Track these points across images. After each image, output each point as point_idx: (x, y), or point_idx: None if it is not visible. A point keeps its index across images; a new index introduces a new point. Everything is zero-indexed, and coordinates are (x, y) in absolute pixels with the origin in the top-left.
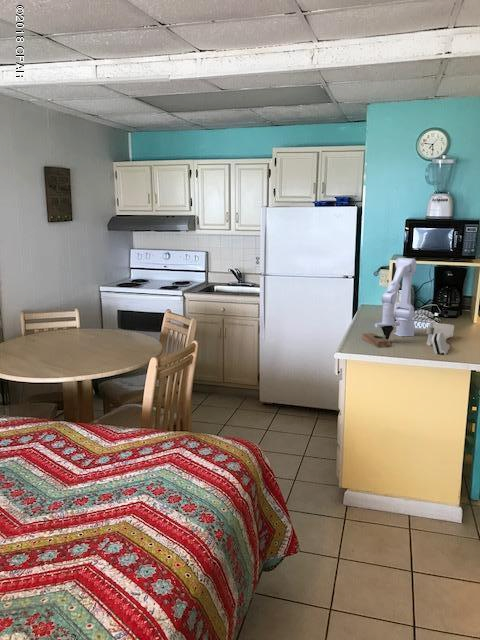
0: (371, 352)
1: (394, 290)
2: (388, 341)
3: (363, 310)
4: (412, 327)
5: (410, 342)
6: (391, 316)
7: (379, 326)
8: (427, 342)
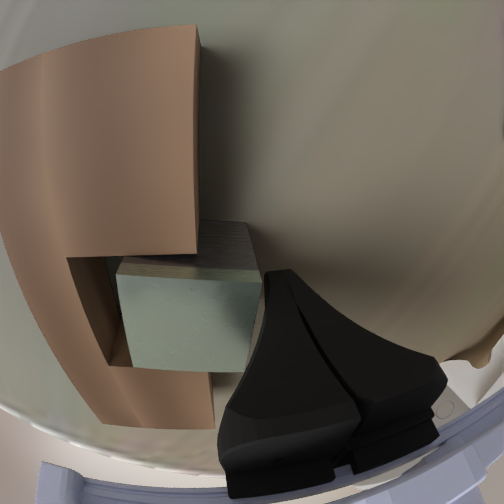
0: (63, 421)
1: None
2: (196, 425)
3: None
4: None
5: (437, 309)
6: None
7: (128, 499)
8: (449, 374)
